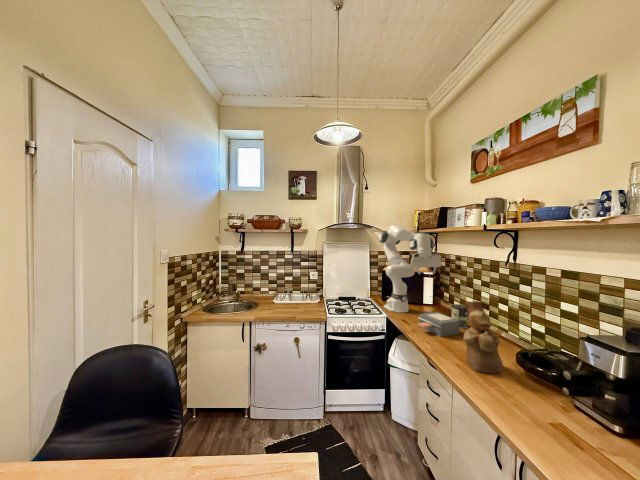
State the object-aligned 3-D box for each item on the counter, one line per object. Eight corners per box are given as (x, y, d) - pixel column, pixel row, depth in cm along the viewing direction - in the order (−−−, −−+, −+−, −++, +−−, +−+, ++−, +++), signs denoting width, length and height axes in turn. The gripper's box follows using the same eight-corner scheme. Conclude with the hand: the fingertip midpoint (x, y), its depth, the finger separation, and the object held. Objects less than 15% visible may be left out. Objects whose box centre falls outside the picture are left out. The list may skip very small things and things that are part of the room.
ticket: (417, 325, 166) (417, 323, 166) (441, 321, 173) (441, 320, 173) (423, 328, 161) (424, 326, 161) (447, 324, 167) (447, 322, 167)
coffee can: (468, 325, 177) (469, 306, 177) (466, 329, 169) (467, 309, 169) (452, 322, 183) (452, 303, 183) (449, 326, 175) (450, 306, 175)
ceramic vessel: (473, 373, 115) (474, 309, 114) (454, 351, 137) (455, 297, 136) (510, 376, 113) (512, 311, 112) (485, 354, 134) (486, 299, 134)
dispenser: (417, 326, 174) (418, 314, 174) (436, 323, 180) (436, 311, 180) (439, 337, 156) (439, 323, 156) (459, 333, 162) (459, 320, 162)
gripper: (439, 253, 178) (441, 272, 177) (409, 255, 184) (411, 273, 183) (441, 253, 172) (443, 273, 171) (410, 255, 178) (411, 274, 177)
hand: (426, 273), depth 177 cm, fingers open, 8 cm apart
